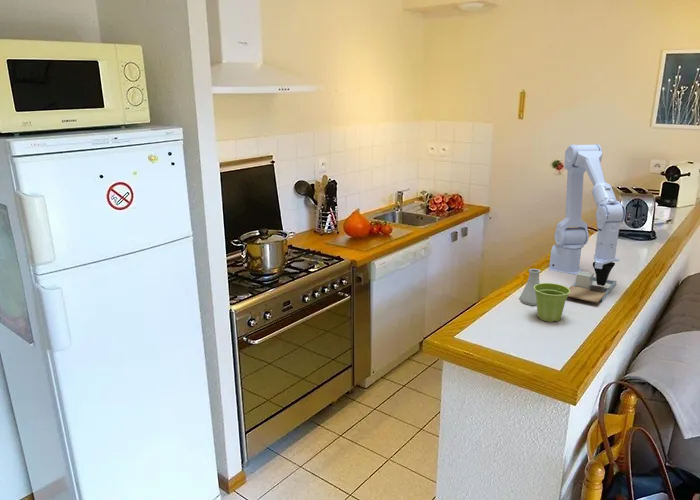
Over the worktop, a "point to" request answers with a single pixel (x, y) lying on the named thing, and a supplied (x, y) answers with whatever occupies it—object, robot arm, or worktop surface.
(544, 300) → the plant pot
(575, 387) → the worktop surface
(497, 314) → the worktop surface
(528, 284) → the flask
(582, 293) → the door
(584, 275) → the block
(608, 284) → the tray
